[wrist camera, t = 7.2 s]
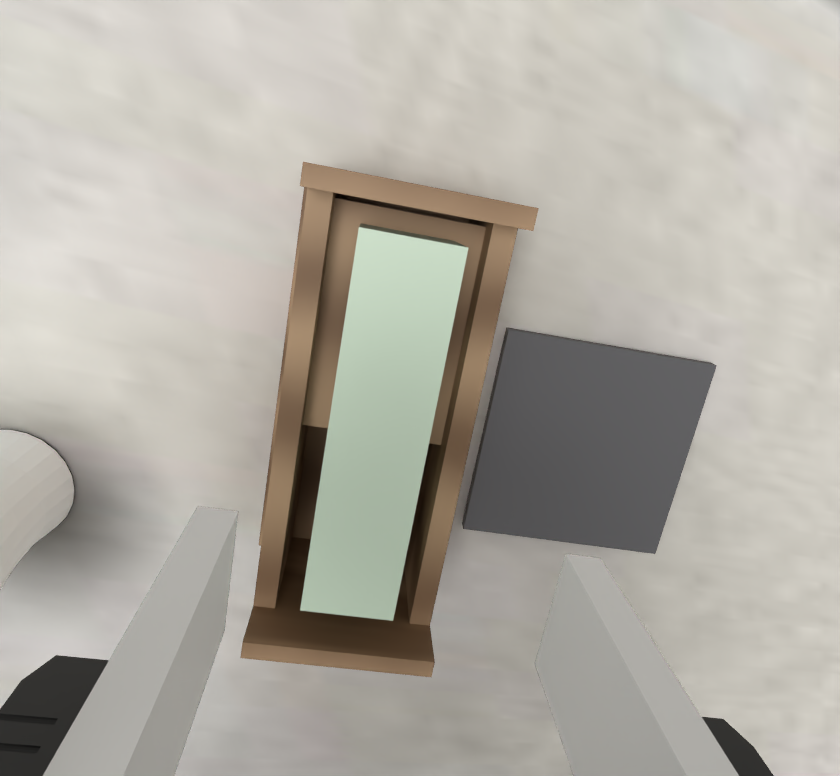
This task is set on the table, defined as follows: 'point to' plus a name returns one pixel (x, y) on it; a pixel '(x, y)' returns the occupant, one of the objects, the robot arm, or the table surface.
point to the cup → (29, 495)
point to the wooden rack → (311, 405)
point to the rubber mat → (584, 441)
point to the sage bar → (381, 418)
